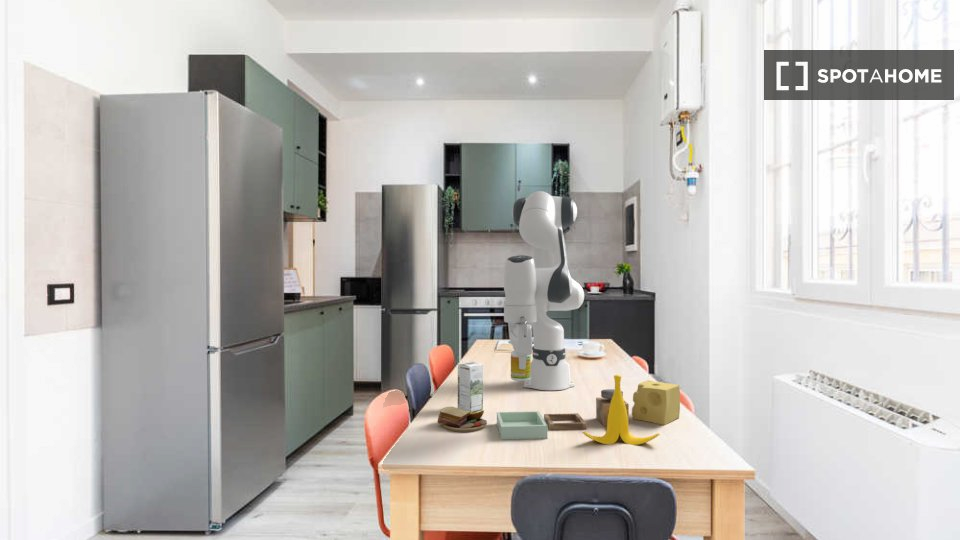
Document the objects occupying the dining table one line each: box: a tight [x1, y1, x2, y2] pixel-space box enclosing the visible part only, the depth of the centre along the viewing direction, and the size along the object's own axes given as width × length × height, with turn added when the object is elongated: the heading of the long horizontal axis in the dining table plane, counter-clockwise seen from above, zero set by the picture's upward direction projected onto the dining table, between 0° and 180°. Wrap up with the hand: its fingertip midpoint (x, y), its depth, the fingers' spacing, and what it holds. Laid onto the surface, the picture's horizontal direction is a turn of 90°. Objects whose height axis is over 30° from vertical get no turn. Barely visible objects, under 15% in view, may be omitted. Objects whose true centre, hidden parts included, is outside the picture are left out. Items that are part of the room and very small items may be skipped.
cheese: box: [631, 380, 681, 426], centre depth 158 cm, size 10×11×10 cm
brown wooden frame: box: [543, 412, 588, 431], centre depth 153 cm, size 10×10×2 cm
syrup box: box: [457, 361, 484, 412], centre depth 168 cm, size 6×6×14 cm
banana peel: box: [581, 374, 661, 446], centre depth 138 cm, size 17×19×17 cm
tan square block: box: [595, 388, 630, 427], centre depth 155 cm, size 8×7×9 cm
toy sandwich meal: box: [437, 406, 488, 433], centre depth 152 cm, size 12×14×5 cm
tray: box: [496, 410, 548, 441], centre depth 147 cm, size 14×12×3 cm
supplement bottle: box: [510, 343, 532, 382], centre depth 147 cm, size 5×5×10 cm
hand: (520, 366), depth 147 cm, fingers closed on supplement bottle, 5 cm apart
